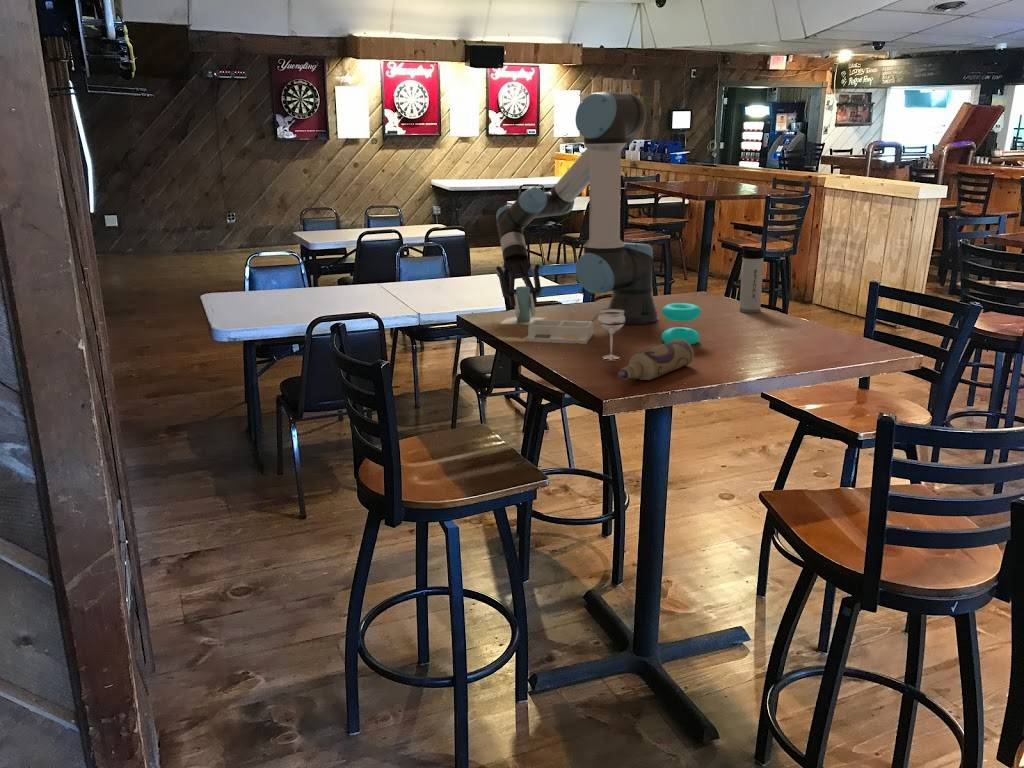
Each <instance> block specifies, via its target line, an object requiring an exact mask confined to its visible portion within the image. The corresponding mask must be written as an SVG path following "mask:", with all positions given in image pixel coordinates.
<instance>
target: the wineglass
mask: <svg viewBox="0 0 1024 768" xmlns="http://www.w3.org/2000/svg"><path fill="white" fill-rule="evenodd" d="M624 313H625V310H622V309H615V308H609V309H608V308H601V309H599V310H598V314H599V315H598V318H597V321H598V325H599V326H600V328H602V329H603V330H604V331H606V332H607V333H608V334H609V346H610V347H609V348H610V350H609V351H610V352H609V353H610V354H607V355H606V354H605V355H603V356H602V357H603V358H604V359H609V360H608V361H614V360H613V359H619V358H620V357H621V356H619V355H616V354H613V342H614V341H613V340H614V334H615V333H616V332H617V331H620V330H621V329H622V328H623V326H624V325H625V324H624V323H625V316H624ZM604 359H603V360H604ZM619 360H620V359H619Z"/></svg>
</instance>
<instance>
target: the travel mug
mask: <svg viewBox="0 0 1024 768" xmlns="http://www.w3.org/2000/svg"><path fill="white" fill-rule="evenodd" d="M741 249H742V262H741V274H740V275H741V277H740V293H739V312H741V313H744V314H756V313H757V314H758V313H760V312H761V305H762V292H763V291H762V289H763V288H762V287H763V274H764V273H763V272H764V261H765V260H764V258H765V257H764V256H765V249H763V248H761V247H758V246H757V247H756V246H747V245H743V246H741Z"/></svg>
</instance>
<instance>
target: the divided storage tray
mask: <svg viewBox="0 0 1024 768" xmlns="http://www.w3.org/2000/svg"><path fill="white" fill-rule="evenodd" d="M527 326H528V329H527V332H528V334H527V335H526V336H525V338H524V342H525V341H530V343H532V342H531V341H533V343H550V342H552V343H554V342H555V343H554V344H575V343H579V344H580V345H581V344H582V345H587V344H588V342H589V341H590V340H591V338H592V336H593V335H594V321H588V320H587V321H585V320H558V319H557V320H556V319H555V320H553V319H545V320H534V321H533V322H532V323H531V324H530V325H527ZM552 343H551V344H552ZM579 344H578V345H579Z"/></svg>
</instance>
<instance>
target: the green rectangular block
mask: <svg viewBox="0 0 1024 768" xmlns="http://www.w3.org/2000/svg"><path fill="white" fill-rule="evenodd" d="M515 292H516V293H515V294H517V299H518V304H519V310H520V315H519V318H517V321H518V322H529V321H530V317H531V309H530V287H526V285H525V286H524V285H523V286H516V288H515Z"/></svg>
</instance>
